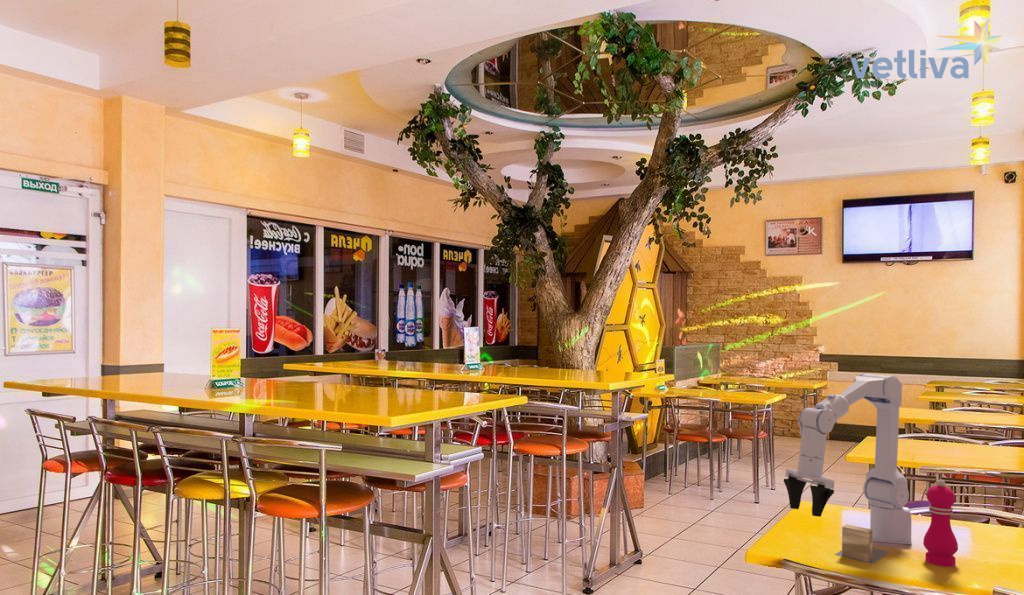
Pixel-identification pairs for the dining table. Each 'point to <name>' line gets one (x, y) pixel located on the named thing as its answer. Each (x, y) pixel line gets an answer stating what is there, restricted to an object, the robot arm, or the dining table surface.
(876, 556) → the grey panel
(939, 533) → the pepper mill
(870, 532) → the birch block
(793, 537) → the dining table surface
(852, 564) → the dining table surface
